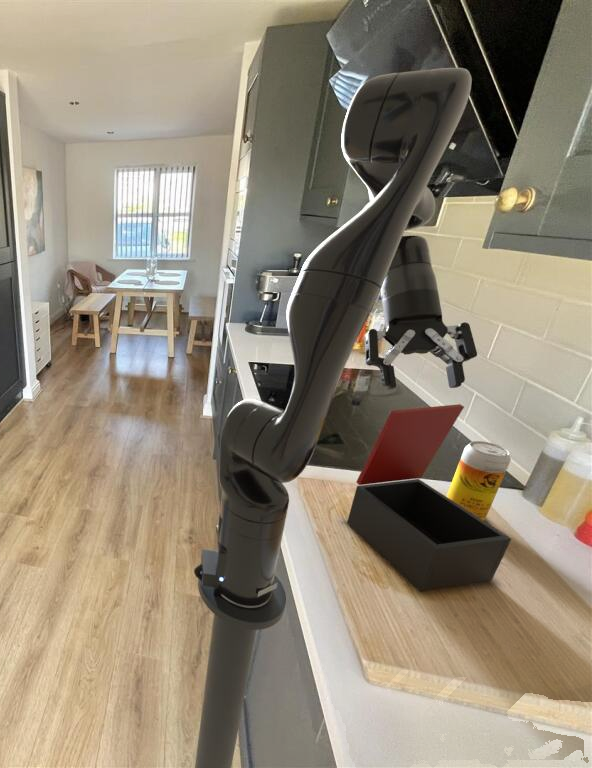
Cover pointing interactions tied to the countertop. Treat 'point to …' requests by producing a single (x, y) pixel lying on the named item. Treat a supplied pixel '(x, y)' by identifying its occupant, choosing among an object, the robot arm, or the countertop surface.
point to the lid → (408, 443)
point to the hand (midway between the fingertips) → (422, 387)
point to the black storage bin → (426, 534)
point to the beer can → (479, 477)
